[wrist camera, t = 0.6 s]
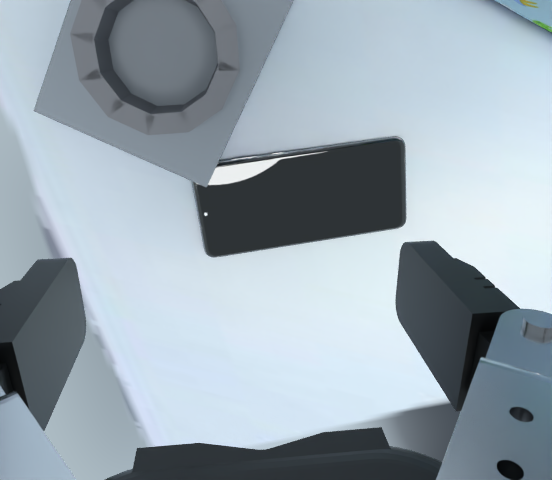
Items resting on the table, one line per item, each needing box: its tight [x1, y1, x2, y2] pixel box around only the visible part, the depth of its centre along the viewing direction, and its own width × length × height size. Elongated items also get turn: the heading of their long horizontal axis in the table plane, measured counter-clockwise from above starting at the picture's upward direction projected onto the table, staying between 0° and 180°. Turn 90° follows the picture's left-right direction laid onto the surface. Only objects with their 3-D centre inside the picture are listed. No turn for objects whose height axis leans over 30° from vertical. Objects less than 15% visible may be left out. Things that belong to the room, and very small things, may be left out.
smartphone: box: [192, 136, 406, 257], centre depth 37 cm, size 7×1×16 cm
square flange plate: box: [34, 0, 294, 187], centre depth 30 cm, size 14×12×6 cm
